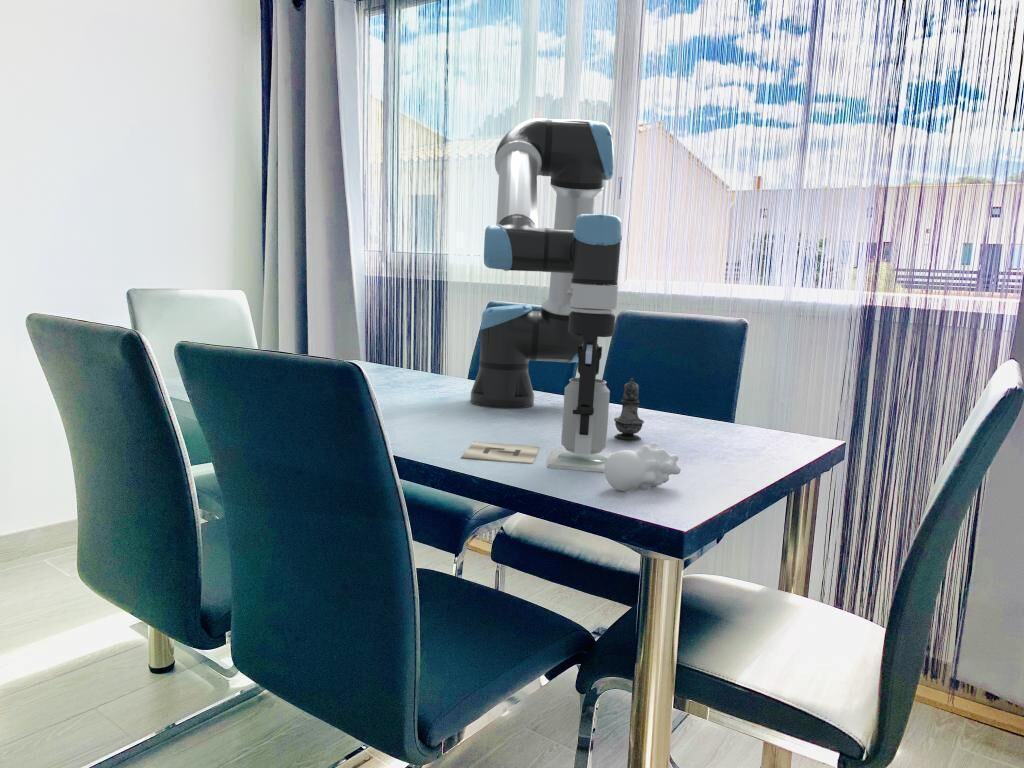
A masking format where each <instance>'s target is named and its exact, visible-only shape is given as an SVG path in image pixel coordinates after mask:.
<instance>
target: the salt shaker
mask: <svg viewBox="0 0 1024 768" xmlns="http://www.w3.org/2000/svg"><path fill="white" fill-rule="evenodd" d="M639 390H640V386H639V384H638V383H636V382H635V381H634V378H633V377H631V378H630V381H629V382H627V383H625V384H624V386H623V398H622V399H621V400H620V401H621V402H622V406H621V407H622V408H621V413H620V415H619V416H618V417H614V418H613V420H614V422H615V423H614V425H615V428H616V430H617V431H618V432H620V433H617V434H615V435H614V436H613V438H614V439H616V440H619V441H623V442H639V441H641V440H642V438H641V437H640V436H639V435H638V433H639V432H640V431H641V430H642V428H643V424H644V423H645V421H644V420H643V419H641V418H640V417H639V412H638V409H639V404H640V403H641V402H640V400H639Z"/></svg>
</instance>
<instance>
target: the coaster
mask: <svg viewBox="0 0 1024 768" xmlns="http://www.w3.org/2000/svg"><path fill="white" fill-rule="evenodd" d="M614 453H615V452H614ZM614 453H611V452H602V451H601V452H600V453H597V454H591V455H587V454H575V453H573V452H569V451H567V450H566V449H563V448H562V449H561V448H560V449H559V448H552V449H551V452H550V456H549V458H548V462H547V466H546V467H547V468H549V469H560V470H561V469H562V470H572V471H574V470H575V471H583V472H584V471H585V472H586V471H587V472H596V473H597V472H598V473H604V466H605V463H606V461H607V459H608V458H609V457H610V456H611V455H612V454H614Z"/></svg>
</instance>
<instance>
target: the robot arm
mask: <svg viewBox="0 0 1024 768" xmlns="http://www.w3.org/2000/svg"><path fill="white" fill-rule="evenodd" d="M494 155H495V157H494V168H495V171H496V173H497V175H498V187H497V188H498V189H497V190H498V191H497V203H496V204H497V205H496V207H497V208H496V225H487V227H486V228H485V230H484V240H483V241H484V242H483V264H484V266H485V267H486V268H488V269H494V270H503V271H504V272H508V271H516V272H543V273H550V277H549V278H550V279H549V288H548V289H549V291H548V297H547V298H546V299H545V300H544V301H543V302H541V307H540V308H541V309H540V310H533V307H532V305H531V304H511V305H509V304H508V305H501V306H500V305H499V306H492V307H487V308H485V309H484V311H483V312H482V314H481V324H480V328H479V329H480V346H479V366H478V372H477V375H476V377H475V380H474V382H473V383H474V384H473V385H472V389H471V391H470V402H471V403H472V404H474V405H477V406H482V407H488V408H497V409H499V408H500V409H520V408H521V409H522V408H528V407H532V406H534V404H535V393H534V390H533V389H534V388H533V385H532V382H531V378H530V377H531V376H530V374H529V365H530V363H529V362H530V361H541V362H558V363H568V364H571V363H577V373H578V374H579V378H580V379H579V394H578V406H577V410H573V414H577V416H576V432H575V447H574V453H575V454H587V455H591V445H592V430H593V416H594V414H593V413H594V408H593V402H594V388H595V379H597V377H596V376H597V375H599V373H600V364H601V363H600V362H601V359H602V356H603V355H602V352H603V346H599V343H598V342H599V341H598V339H599V338H610V337H611V338H612V336H614V335H615V328H616V327H615V326H616V325H615V324H616V315H615V313H613V311H616V310H617V300H618V287H619V286H618V277H619V276H618V275H619V264H620V254H621V242H622V240H623V235H622V220H621V218H620V217H619V216H617V215H613V214H604V213H603V214H602V213H595V208H596V198H597V195H598V194H599V193H600V192H602V191H603V190H604V188H605V181H609V180H612V178H613V175H614V161H615V160H614V143H613V136H612V132H611V128H610V127H609V125H608V124H606V123H605V122H600V121H595V120H589V119H588V120H586V119H563V118H562V119H560V118H559V119H555V118H545V117H544V118H543V117H538V118H531V119H528V120H525V121H523V122H521V123H519V124H517V125H516V126H515V127H513V128H511V129H510V130H509V131H508V132H507V133H506V134H505V135H504V136H503V137H502V139H501V140H500V142H499V144H498V145H497V147H496V151H495V154H494ZM538 176H542V177H550V181H549V182H550V186H551V188H553V190H554V191H555V193H556V194H555V195H556V200H555V212H554V223H553V224H554V225H553V226H554V227H553V228H549V227H538ZM587 405H589V406H587Z"/></svg>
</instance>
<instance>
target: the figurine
mask: <svg viewBox="0 0 1024 768" xmlns="http://www.w3.org/2000/svg"><path fill="white" fill-rule="evenodd" d="M679 459H680V457H679V455H678V454H675V453H673V454H670V453H669V452H667V451H666V450H665V449H664V448H659V445H658V443H657V442H655V441H651V442H649V443H647V444H643V445H640V446H639V447H638V448H637V449H636V450H628V449H622V450H618V451H615V452H614V454H612V455H611V456H610V457H609V458H608V459H607V461H606V463H605V466H604V472H603V473H604V478H605V480H606V482H607V483H608V485H609V486H610V487H612V488H613V489H615V491H620V492H630V491H633V490H635V489H639V490H642V491H648V490H650V488H656V487H659V486H662V485H663V484H665V483H667V482H668V481H670V476H671V475H679V474H680V473H681V471H682V470H681V467H679V466H678V465H677V462H678V461H679Z"/></svg>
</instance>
